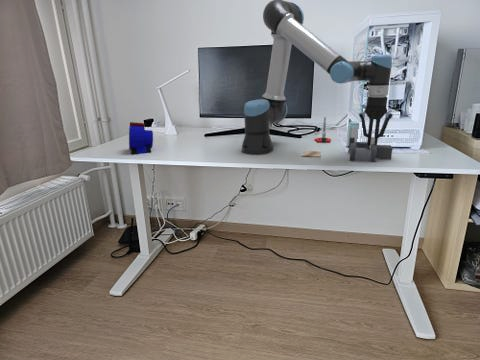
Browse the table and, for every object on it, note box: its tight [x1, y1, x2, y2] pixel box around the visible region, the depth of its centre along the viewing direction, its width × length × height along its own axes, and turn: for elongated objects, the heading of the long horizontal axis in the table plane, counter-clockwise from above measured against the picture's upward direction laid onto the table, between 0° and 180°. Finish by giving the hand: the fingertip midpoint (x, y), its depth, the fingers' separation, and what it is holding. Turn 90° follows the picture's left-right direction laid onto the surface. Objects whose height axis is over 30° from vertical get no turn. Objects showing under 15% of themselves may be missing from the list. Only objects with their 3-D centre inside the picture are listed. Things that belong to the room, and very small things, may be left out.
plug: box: [376, 144, 393, 161], centre depth 133 cm, size 7×5×5 cm
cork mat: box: [301, 150, 322, 159], centre depth 141 cm, size 8×8×1 cm
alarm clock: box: [128, 121, 154, 156], centre depth 157 cm, size 12×12×15 cm
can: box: [346, 120, 359, 147], centre depth 150 cm, size 7×7×12 cm
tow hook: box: [314, 117, 332, 144], centre depth 164 cm, size 8×13×9 cm
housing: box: [347, 137, 378, 163], centre depth 135 cm, size 10×14×7 cm
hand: (371, 152), depth 134 cm, fingers closed
